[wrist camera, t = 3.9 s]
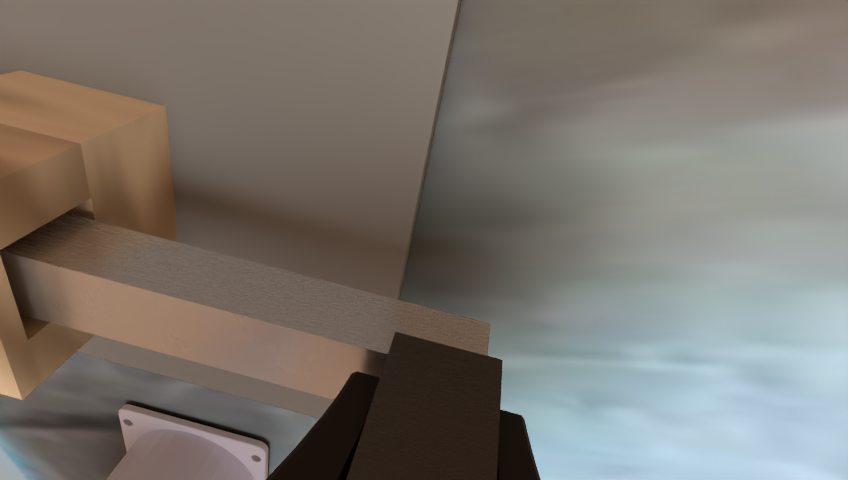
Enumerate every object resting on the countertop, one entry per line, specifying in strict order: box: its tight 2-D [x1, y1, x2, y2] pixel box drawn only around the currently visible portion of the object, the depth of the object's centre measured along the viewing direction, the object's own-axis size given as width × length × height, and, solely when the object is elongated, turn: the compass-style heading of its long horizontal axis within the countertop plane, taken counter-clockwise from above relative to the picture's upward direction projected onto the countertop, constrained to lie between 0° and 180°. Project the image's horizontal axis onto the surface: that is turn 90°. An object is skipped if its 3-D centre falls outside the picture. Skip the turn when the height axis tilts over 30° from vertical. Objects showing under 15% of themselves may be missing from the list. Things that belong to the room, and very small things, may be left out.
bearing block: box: [0, 70, 178, 400], centre depth 14 cm, size 6×5×7 cm
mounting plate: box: [0, 0, 462, 419], centre depth 18 cm, size 20×18×1 cm
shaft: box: [0, 213, 502, 480], centre depth 11 cm, size 3×15×6 cm, turn 79°
